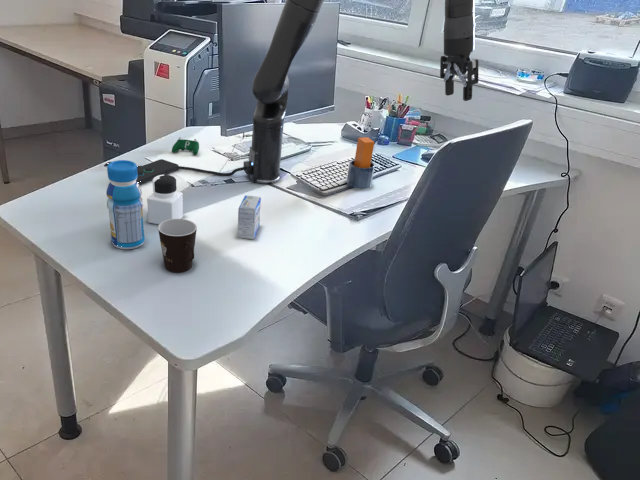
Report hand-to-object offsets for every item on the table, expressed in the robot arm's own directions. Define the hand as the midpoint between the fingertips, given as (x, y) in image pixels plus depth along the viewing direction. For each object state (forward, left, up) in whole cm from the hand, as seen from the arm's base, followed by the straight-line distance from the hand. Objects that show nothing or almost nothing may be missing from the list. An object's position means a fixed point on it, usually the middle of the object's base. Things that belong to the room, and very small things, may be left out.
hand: (458, 97), depth 153 cm
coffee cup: (-19, +12, -29) cm, 37 cm away
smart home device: (-83, +31, -30) cm, 93 cm away
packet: (-19, +12, -29) cm, 37 cm away
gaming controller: (-67, +50, -30) cm, 89 cm away
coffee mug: (-83, -28, -30) cm, 93 cm away
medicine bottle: (-82, -2, -30) cm, 88 cm away
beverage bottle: (-93, -13, -30) cm, 99 cm away
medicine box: (-62, -13, -30) cm, 70 cm away
